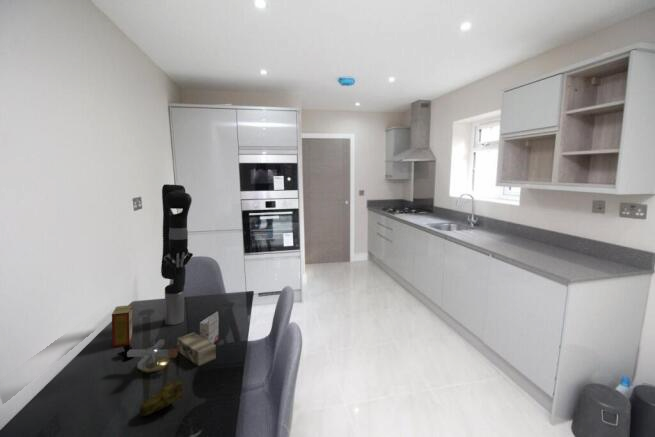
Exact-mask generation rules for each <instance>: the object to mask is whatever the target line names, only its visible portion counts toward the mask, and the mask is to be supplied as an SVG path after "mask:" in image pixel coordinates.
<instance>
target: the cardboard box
mask: <svg viewBox="0 0 655 437" xmlns="http://www.w3.org/2000/svg"><path fill="white" fill-rule="evenodd" d="M176 343H177V344H176V345H177V348H176V349H178V353H180V354H181V355H183V356H184V357H185V358H187V359H188V360H190V361H191V362H192V363H194V364H195V365H197V366H198V367H200V366H203V365H204V364H206V363H209V362H211V361H213V360H216V359H217V358H216V357H217V354H216V352H217V351H216V350H217V345H216V344H215V343H211V342H209V341H208V340H206V339H205V338H203V337H201V336H200V334H198V333H196V332H195V331H193V332H190V333H189V334H185V335H182V336H180V337H177V341H176Z"/></svg>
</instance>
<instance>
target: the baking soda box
mask: <svg viewBox="0 0 655 437" xmlns="http://www.w3.org/2000/svg"><path fill="white" fill-rule="evenodd" d="M133 335H134V334H133V304H129V305H120V306H115V307H114V309H113V312H112V313H111V338H112V340H111V341H112V342H111V343H112V347H111V348H115V347H116V348H117V347H122V346H125V345H129V344H130V345H131V341H132V338H133Z"/></svg>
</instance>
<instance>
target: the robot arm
mask: <svg viewBox="0 0 655 437" xmlns="http://www.w3.org/2000/svg"><path fill="white" fill-rule="evenodd" d="M161 200H162V256H161V267H160V274H161V277H162V278H163V279H165V280H172V283H170V284H167V285H166V286H165V287H164V324H166V325H167V326H174V325H175V326H176V325H178V324H181V323H183V322H184V320H185V318H184V317H185V316H184V314H185V313H184V312H185V311H184V301H185V298H184V296H185V295H184V294H185V293H184V291H185V285H186V284H185V283H186V266H187V264H188V262H190V260H191V259H192V257H193V255H194V254H193V253H192V252H190V251H189V249H188V246H189V245H188V244H189V243H188V241H189V240H188V238H189V234H188V217H189V216H188V215H189V211H190V208H191V205H192V201H193V199H192V196H191V195H190V194H189V193H187V192H186V188H185V186H184V185H181V184H167V183H166V184H163V185H162V188H161ZM172 209H173V210H175V209H176V210H177V209H178V210H181V212H178V213H174V212H173V210H172Z"/></svg>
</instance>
